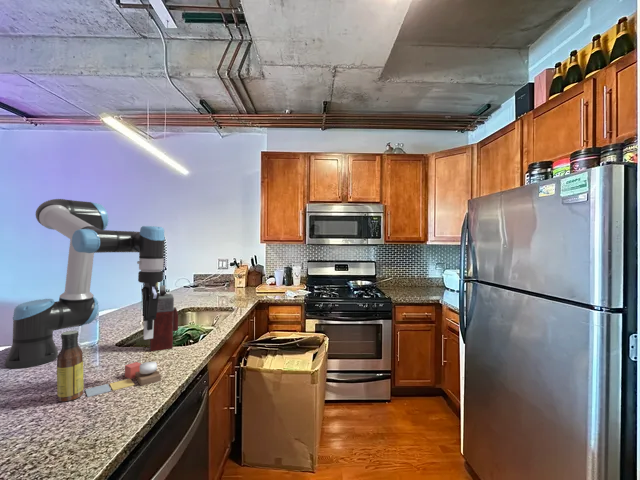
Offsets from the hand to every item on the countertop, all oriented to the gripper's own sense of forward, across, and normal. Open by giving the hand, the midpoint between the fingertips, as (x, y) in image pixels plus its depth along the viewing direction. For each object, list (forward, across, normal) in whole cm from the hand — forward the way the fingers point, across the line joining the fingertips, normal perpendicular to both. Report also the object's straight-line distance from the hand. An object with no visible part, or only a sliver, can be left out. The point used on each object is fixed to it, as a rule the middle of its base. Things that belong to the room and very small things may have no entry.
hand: (148, 338), depth 107 cm
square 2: (+14, 0, -7) cm, 16 cm away
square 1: (+14, 0, -14) cm, 20 cm away
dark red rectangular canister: (+15, -32, +15) cm, 38 cm away
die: (+14, -6, -3) cm, 16 cm away
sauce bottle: (+14, 0, -21) cm, 25 cm away
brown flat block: (+14, +1, 0) cm, 14 cm away
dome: (+11, +1, 0) cm, 11 cm away
